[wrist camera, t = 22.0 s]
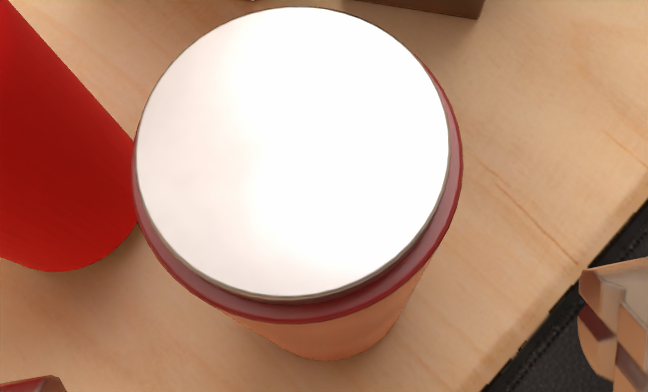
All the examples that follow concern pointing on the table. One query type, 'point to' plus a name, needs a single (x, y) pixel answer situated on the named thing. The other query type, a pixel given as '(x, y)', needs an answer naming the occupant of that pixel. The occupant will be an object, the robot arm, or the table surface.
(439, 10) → the walnut stand
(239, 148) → the soda can
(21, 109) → the beverage can
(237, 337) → the table surface
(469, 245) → the table surface
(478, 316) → the table surface
